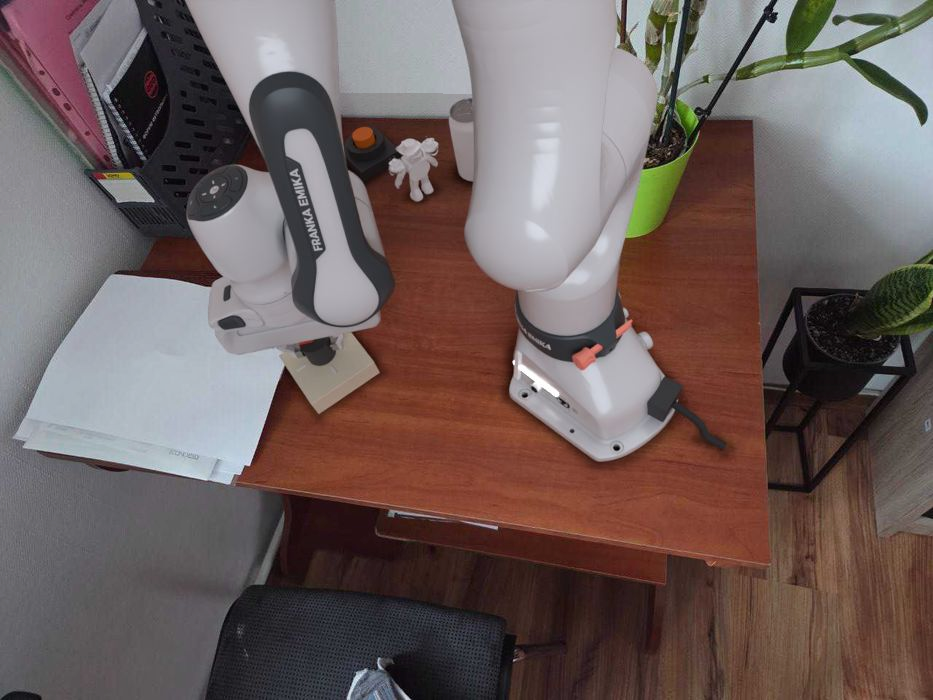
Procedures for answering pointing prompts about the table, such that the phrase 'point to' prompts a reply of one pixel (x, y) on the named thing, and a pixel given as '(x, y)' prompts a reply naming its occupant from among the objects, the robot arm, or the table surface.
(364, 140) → the power button
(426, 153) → the white figurine
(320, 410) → the timer panel
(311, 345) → the timer knob
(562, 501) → the table surface
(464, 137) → the can
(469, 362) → the table surface
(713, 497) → the table surface
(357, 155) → the black button housing
